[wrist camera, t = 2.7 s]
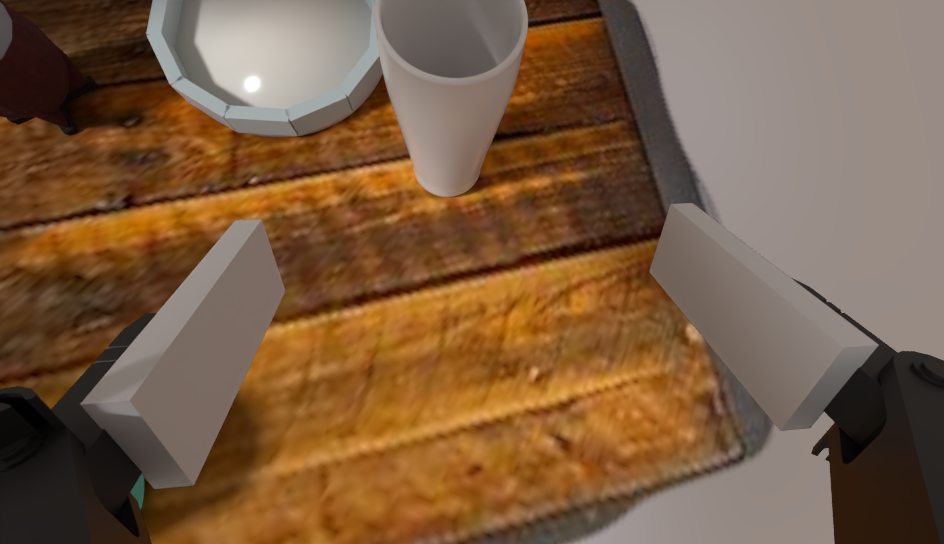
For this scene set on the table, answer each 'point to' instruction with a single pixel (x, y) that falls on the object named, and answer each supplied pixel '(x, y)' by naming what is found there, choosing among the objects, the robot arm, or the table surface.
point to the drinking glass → (449, 80)
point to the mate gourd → (36, 74)
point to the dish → (269, 60)
